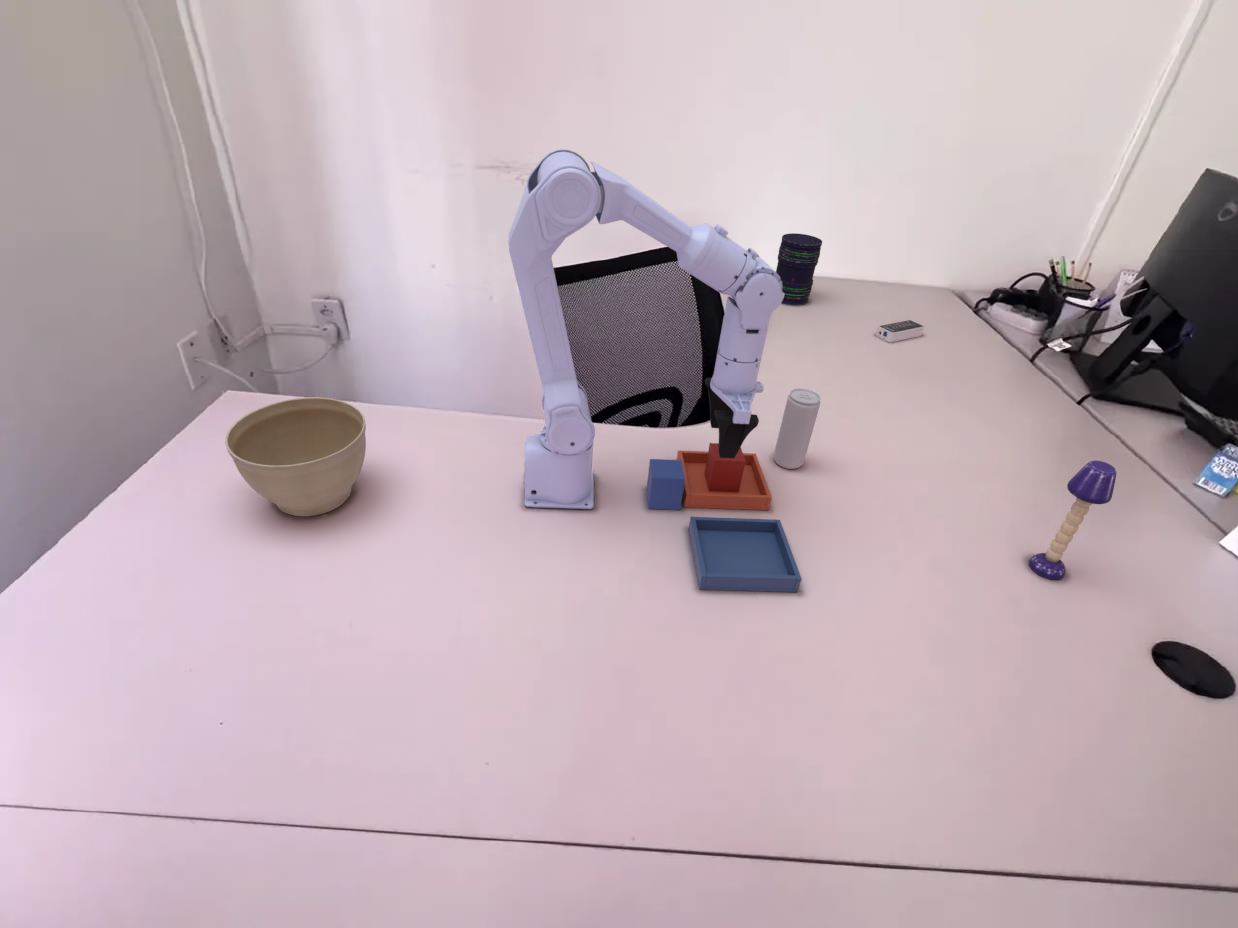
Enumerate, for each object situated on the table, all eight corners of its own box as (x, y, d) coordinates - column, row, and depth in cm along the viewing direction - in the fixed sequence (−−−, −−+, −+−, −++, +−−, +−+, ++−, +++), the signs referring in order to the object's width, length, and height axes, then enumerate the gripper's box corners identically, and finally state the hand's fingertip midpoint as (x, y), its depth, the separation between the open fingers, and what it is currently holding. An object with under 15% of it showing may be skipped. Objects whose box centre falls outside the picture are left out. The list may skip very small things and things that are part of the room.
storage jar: (769, 302, 163) (782, 242, 154) (768, 289, 171) (780, 231, 163) (810, 307, 162) (824, 247, 154) (807, 294, 170) (821, 236, 162)
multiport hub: (922, 335, 152) (925, 326, 151) (889, 342, 147) (892, 333, 146) (906, 328, 155) (910, 319, 154) (874, 335, 150) (877, 325, 149)
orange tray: (684, 507, 92) (686, 494, 91) (676, 462, 101) (677, 450, 100) (768, 510, 93) (772, 497, 92) (753, 465, 102) (755, 453, 101)
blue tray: (699, 589, 79) (701, 576, 78) (688, 529, 88) (690, 516, 87) (797, 592, 80) (801, 578, 79) (776, 532, 89) (780, 519, 88)
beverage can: (803, 472, 101) (822, 405, 95) (772, 467, 102) (789, 400, 95) (802, 456, 105) (820, 390, 99) (772, 451, 106) (788, 385, 99)
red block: (708, 491, 95) (714, 460, 92) (704, 473, 99) (709, 442, 96) (738, 492, 95) (745, 461, 92) (733, 474, 99) (739, 444, 96)
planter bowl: (227, 493, 88) (203, 424, 82) (340, 449, 98) (327, 385, 92) (281, 553, 79) (259, 481, 73) (399, 498, 89) (389, 431, 83)
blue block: (648, 509, 91) (652, 477, 88) (646, 489, 95) (649, 458, 92) (680, 510, 92) (685, 478, 89) (676, 490, 95) (681, 459, 92)
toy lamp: (1048, 585, 84) (1112, 481, 75) (1016, 562, 87) (1073, 459, 78) (1070, 574, 86) (1135, 472, 77) (1038, 552, 89) (1096, 451, 80)
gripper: (783, 381, 79) (760, 472, 87) (758, 332, 91) (740, 416, 98) (725, 377, 78) (708, 469, 86) (708, 329, 90) (694, 414, 98)
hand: (722, 441), depth 92 cm, fingers open, 7 cm apart
